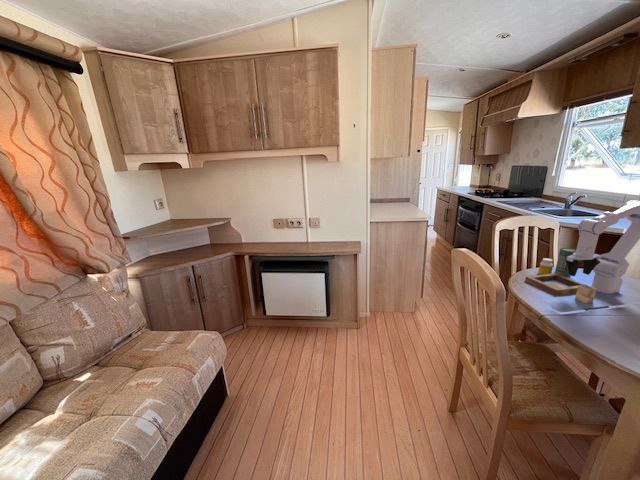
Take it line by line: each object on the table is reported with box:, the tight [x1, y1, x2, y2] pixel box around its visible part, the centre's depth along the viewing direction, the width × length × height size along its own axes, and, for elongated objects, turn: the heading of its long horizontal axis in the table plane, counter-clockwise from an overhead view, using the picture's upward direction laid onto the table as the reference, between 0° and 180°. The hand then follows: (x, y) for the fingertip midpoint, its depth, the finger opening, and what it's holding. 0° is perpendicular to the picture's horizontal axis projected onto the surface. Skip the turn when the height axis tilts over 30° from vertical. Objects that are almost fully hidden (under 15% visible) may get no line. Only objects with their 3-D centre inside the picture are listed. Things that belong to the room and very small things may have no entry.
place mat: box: [584, 305, 610, 311], centre depth 115 cm, size 11×11×1 cm
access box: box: [524, 272, 586, 296], centre depth 128 cm, size 18×16×4 cm
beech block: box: [574, 284, 597, 304], centre depth 114 cm, size 4×4×7 cm
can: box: [554, 247, 576, 277], centre depth 139 cm, size 6×6×15 cm
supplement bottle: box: [537, 257, 554, 275], centre depth 141 cm, size 5×5×10 cm
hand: (578, 274), depth 118 cm, fingers open, 7 cm apart
